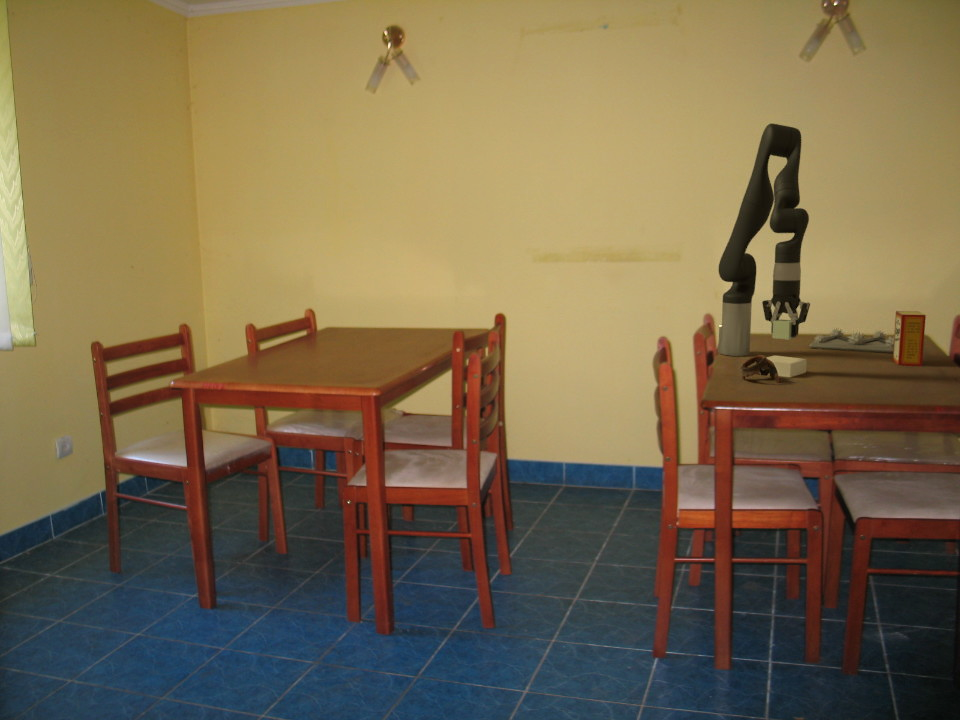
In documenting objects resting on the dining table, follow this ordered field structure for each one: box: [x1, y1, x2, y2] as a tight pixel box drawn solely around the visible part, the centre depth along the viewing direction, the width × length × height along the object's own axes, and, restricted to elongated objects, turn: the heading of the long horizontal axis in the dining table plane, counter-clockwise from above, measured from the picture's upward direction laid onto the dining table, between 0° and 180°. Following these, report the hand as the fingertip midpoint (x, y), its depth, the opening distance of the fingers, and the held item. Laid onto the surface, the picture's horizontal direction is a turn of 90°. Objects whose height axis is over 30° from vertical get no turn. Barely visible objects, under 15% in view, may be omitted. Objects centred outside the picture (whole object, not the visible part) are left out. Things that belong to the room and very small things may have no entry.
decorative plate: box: [808, 327, 894, 354], centre depth 308 cm, size 30×22×7 cm
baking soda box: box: [892, 310, 927, 367], centre depth 275 cm, size 10×6×16 cm
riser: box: [766, 355, 807, 378], centre depth 263 cm, size 10×10×4 cm
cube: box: [771, 318, 798, 341], centre depth 261 cm, size 5×5×5 cm
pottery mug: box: [740, 354, 780, 384], centre depth 253 cm, size 12×10×8 cm
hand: (784, 336), depth 262 cm, fingers closed on cube, 5 cm apart
